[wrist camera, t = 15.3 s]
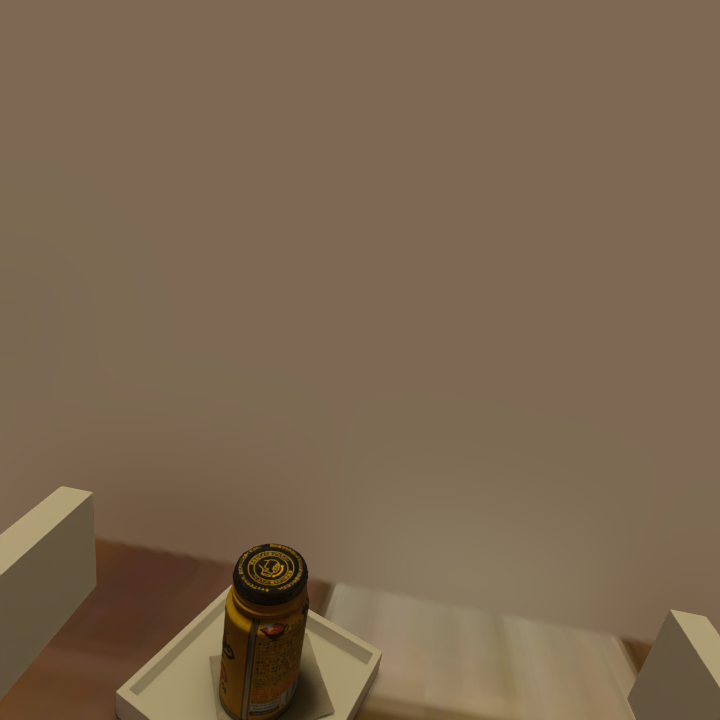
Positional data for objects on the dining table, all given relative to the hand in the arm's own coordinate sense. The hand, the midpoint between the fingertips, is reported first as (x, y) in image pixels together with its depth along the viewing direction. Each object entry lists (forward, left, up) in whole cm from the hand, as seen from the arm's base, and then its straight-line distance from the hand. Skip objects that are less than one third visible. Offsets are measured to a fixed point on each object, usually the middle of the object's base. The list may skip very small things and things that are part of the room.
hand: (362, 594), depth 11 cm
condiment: (+11, -15, -29) cm, 35 cm away
